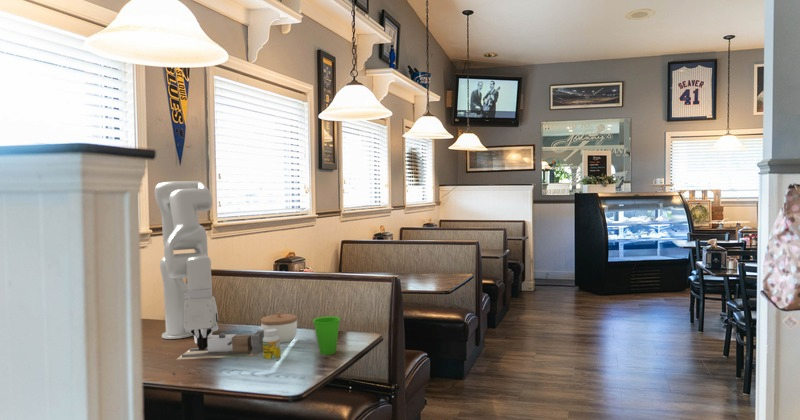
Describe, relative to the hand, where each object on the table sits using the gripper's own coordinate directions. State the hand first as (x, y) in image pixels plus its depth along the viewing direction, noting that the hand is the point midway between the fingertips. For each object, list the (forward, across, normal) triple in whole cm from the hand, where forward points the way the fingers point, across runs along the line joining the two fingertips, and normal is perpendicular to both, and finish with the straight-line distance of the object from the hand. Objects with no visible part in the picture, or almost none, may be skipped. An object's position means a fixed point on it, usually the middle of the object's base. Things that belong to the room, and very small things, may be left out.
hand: (202, 348), depth 184 cm
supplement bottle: (+3, +24, -7) cm, 26 cm away
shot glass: (+3, -6, +16) cm, 17 cm away
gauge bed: (+3, +6, 0) cm, 7 cm away
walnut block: (+1, +13, 0) cm, 13 cm away
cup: (+3, +41, -1) cm, 41 cm away
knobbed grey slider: (+1, +7, -1) cm, 7 cm away
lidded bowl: (+3, +22, +14) cm, 27 cm away
